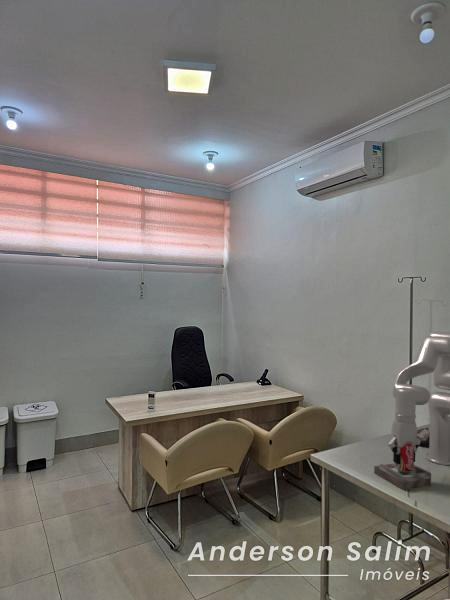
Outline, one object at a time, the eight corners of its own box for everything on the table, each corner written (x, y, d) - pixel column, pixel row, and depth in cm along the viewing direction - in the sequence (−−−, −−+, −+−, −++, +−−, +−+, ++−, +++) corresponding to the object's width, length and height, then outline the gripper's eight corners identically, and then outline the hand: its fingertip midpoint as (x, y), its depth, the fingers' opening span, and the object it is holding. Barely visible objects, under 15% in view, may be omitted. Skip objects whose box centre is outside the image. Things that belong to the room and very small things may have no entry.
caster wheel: (421, 452, 200) (409, 442, 209) (441, 447, 201) (428, 438, 211) (420, 440, 199) (408, 431, 208) (440, 435, 200) (427, 426, 210)
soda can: (402, 474, 156) (403, 444, 156) (390, 467, 163) (391, 438, 163) (417, 472, 158) (418, 442, 158) (405, 465, 165) (405, 436, 165)
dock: (400, 469, 171) (400, 457, 171) (430, 485, 156) (431, 473, 156) (374, 473, 166) (374, 461, 167) (403, 490, 151) (403, 477, 152)
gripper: (414, 414, 167) (413, 456, 167) (381, 417, 161) (380, 460, 161) (428, 419, 160) (427, 463, 160) (395, 422, 154) (394, 468, 154)
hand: (404, 461), depth 161 cm, fingers closed on soda can, 7 cm apart
